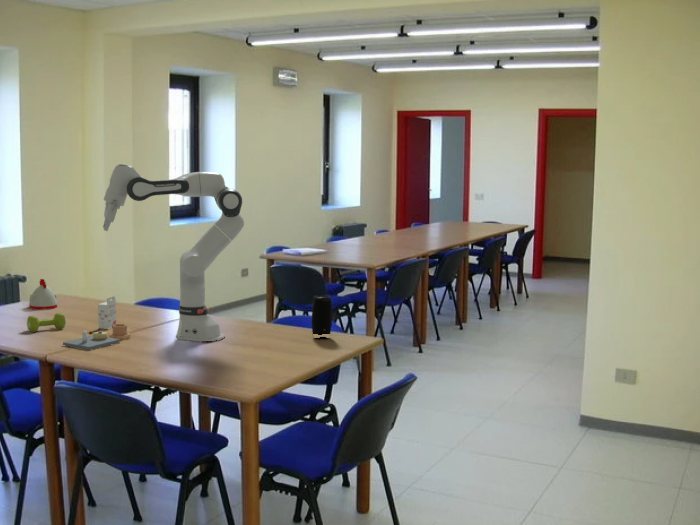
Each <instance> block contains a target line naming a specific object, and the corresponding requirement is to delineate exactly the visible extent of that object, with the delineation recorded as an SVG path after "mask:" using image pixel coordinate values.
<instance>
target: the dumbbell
mask: <svg viewBox="0 0 700 525" xmlns="http://www.w3.org/2000/svg"><path fill="white" fill-rule="evenodd" d="M66 323H67V321H66V317H65V314H64V313H61V312H56V313H55V314H54V316H53V318H43V319H39V318H38V317H37V316H36V315H29V316H28V317H27V321H26V327H27V329H28V331H29V332H30V333H35V332H38V330H39V327H47V326H54V328H56V329H58V330H64V328H65V326H66Z"/></svg>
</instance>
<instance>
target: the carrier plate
mask: <svg viewBox="0 0 700 525" xmlns="http://www.w3.org/2000/svg"><path fill="white" fill-rule="evenodd" d="M81 333H82V334H81V337H80V338H76V339H71V340H68V341H67V340H66V341H63V342H62V346H63V345H65V346H64V347H67V346H70V347H69V348H73V347H75V348H74V349H78V348H79V349H80V350H85V351H92V350H91V349H93V350H96V348H97V349H101V348H104V346H105V347H108V345H109V346H112V345H111V344H113V345H116V343H117V344H120V342H121V339H115V338H109V336H108V332H106V331H102V330H98V331H95V332H93V333H92V335H89V336H88V332H87V330H83V331H82V332H81ZM100 347H101V348H100Z"/></svg>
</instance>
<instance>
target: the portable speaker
mask: <svg viewBox="0 0 700 525" xmlns="http://www.w3.org/2000/svg"><path fill="white" fill-rule="evenodd" d="M332 303H333V302H332V298H331V296H330V295H327V294H322V295H314V296H313V302H312V307H311V331H312V335H313V334H318V335H322V334H330V335H331V331H332V325H333V324H332V323H333V304H332Z"/></svg>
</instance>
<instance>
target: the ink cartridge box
mask: <svg viewBox="0 0 700 525" xmlns="http://www.w3.org/2000/svg"><path fill="white" fill-rule="evenodd" d="M97 307H98V308H97V310H98V311H97V313H98V316H97V317H98V320H97V321H98V322H97V323H98V329H99V328H104V329H103V330H109V329H112V328H113V325H115V324H117V302H116V295H114V296H110V297H107V298H106V301H104V302H101V303H97ZM111 327H112V328H111ZM108 328H109V329H108Z"/></svg>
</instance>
